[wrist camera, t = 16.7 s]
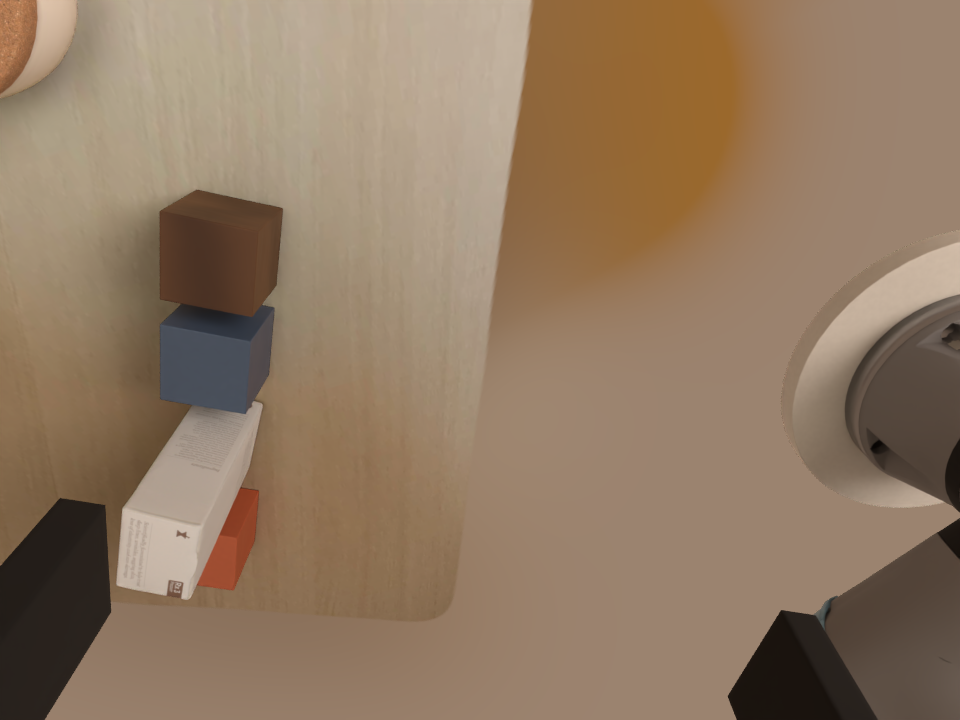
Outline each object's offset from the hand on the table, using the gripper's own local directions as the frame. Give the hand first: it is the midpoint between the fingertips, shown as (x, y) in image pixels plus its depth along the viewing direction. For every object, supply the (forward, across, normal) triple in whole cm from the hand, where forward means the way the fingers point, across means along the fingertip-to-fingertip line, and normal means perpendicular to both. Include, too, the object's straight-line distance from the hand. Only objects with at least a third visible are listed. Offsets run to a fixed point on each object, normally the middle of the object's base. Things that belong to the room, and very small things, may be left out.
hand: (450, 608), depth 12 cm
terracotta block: (+29, -13, -26) cm, 41 cm away
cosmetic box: (+29, -13, -18) cm, 36 cm away
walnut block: (+29, -13, -4) cm, 32 cm away
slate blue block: (+29, -13, -10) cm, 33 cm away
